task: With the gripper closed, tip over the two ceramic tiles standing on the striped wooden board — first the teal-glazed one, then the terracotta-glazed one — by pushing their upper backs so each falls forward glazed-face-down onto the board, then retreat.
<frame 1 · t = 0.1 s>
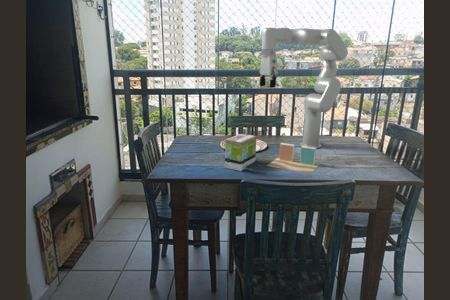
hand: (267, 86, 172), 37 cm above the table, tool pointing down, fingers open, 9 cm apart
tea box: (240, 165, 164), on the table
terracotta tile: (286, 160, 168), point 1 cm above the table, touching striped wooden board
dinner plate: (243, 149, 192), on the table
striped wooden board: (293, 166, 161), on the table
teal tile: (307, 163, 162), point 1 cm above the table, touching striped wooden board
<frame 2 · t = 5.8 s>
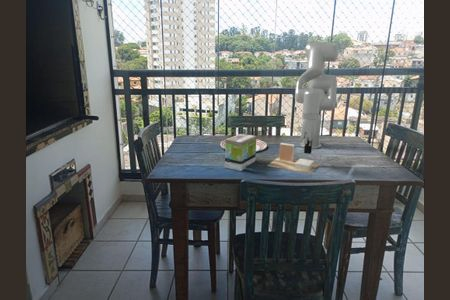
hand: (307, 153, 160), 7 cm above the table, tool pointing down, fingers closed
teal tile: (306, 161, 161), point 2 cm above the table, tilted 90°, touching striped wooden board
everything else where it was.
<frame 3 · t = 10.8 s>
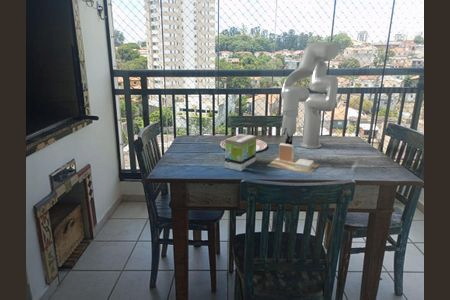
hand: (288, 148, 168), 7 cm above the table, tool pointing down, fingers closed
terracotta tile: (286, 159, 168), point 1 cm above the table, tilted 9°, touching striped wooden board
everything else where it was.
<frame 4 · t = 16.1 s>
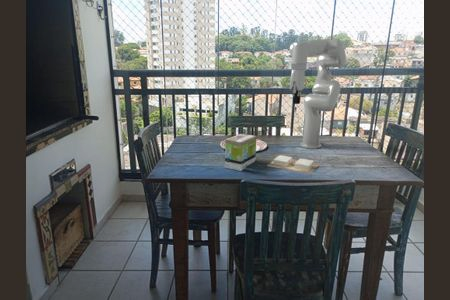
hand: (296, 103, 169), 29 cm above the table, tool pointing down, fingers closed
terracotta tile: (285, 158, 166), point 2 cm above the table, tilted 90°, touching striped wooden board
everything else where it was.
at the end: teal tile tilted 90°; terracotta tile tilted 90°; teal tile inside the target area on the striped wooden board (6.9 cm from its centre), point 2.5 cm above the striped wooden board's base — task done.
